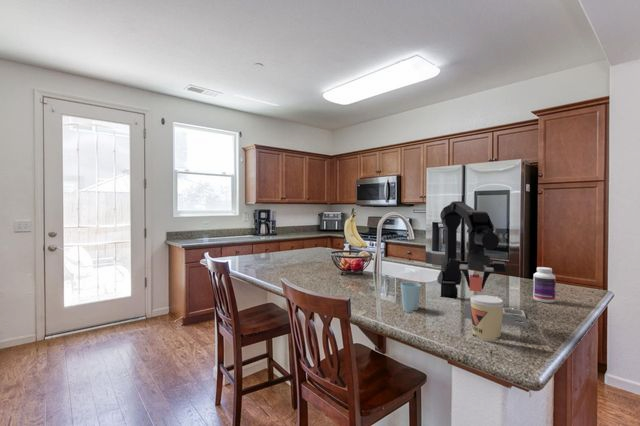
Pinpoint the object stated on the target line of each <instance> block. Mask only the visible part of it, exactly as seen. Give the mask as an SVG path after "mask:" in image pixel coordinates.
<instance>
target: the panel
mask: <svg viewBox="0 0 640 426" xmlns="http://www.w3.org/2000/svg"><path fill="white" fill-rule="evenodd" d="M463 308H464V309H463V317H462V318H464V319H469V320H472V314H471V302H470V303H468V302H464V307H463ZM502 324H503V325H511V326H518V327H526V328H530V326H529V324H528V322H527V319H526V314H525V312H524V310H522V309H518V307H515V306H512V307H511V308H509V307H503V315H502Z"/></svg>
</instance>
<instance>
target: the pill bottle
mask: <svg viewBox="0 0 640 426" xmlns="http://www.w3.org/2000/svg"><path fill="white" fill-rule="evenodd" d="M556 279H557V278H556V275H555V274H554V273H553V269H552V267H546V266H545V267H544V266H537V267H536V272H535V273H533V278H532V285H533V286H532V297H533V298H532V299H533V300H535V301H537V302H540V303H545V304H546V303H547V304H548V303H550V304H551V303H554V302H556V282H557V281H556Z"/></svg>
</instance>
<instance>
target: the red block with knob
mask: <svg viewBox="0 0 640 426" xmlns="http://www.w3.org/2000/svg"><path fill="white" fill-rule="evenodd" d="M469 278H470V288H469V291H471V292H481V293H482V291H483V289H482V280H483V275H480V274H479V273H472V274H469Z"/></svg>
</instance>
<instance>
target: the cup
mask: <svg viewBox="0 0 640 426" xmlns="http://www.w3.org/2000/svg"><path fill="white" fill-rule="evenodd" d="M421 288H422V285H421V283H418V282H412V281H408V282H407V281H405V282H401V283H400V291H401V292H400V293H401V304H402V311H403V312H405V313H408V314H412V313H413V311H417V310H418V309H419V304H420V298H421V297H420V296H421V290H422V289H421Z"/></svg>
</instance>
